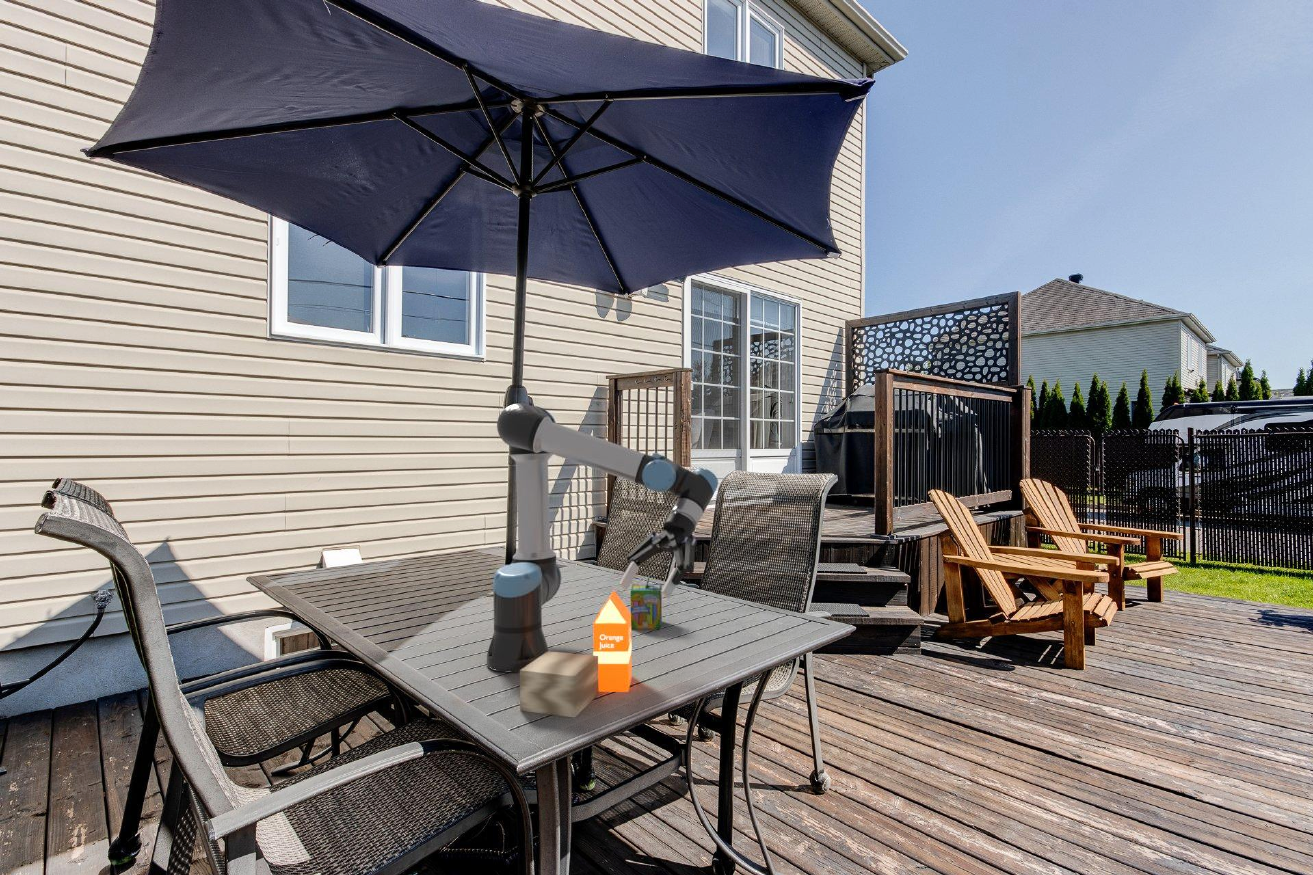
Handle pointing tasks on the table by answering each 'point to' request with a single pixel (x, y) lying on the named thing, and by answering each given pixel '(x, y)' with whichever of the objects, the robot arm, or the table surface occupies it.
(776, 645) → the table surface
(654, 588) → the chalk box
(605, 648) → the orange juice
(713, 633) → the table surface
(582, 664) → the birch block
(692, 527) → the robot arm
